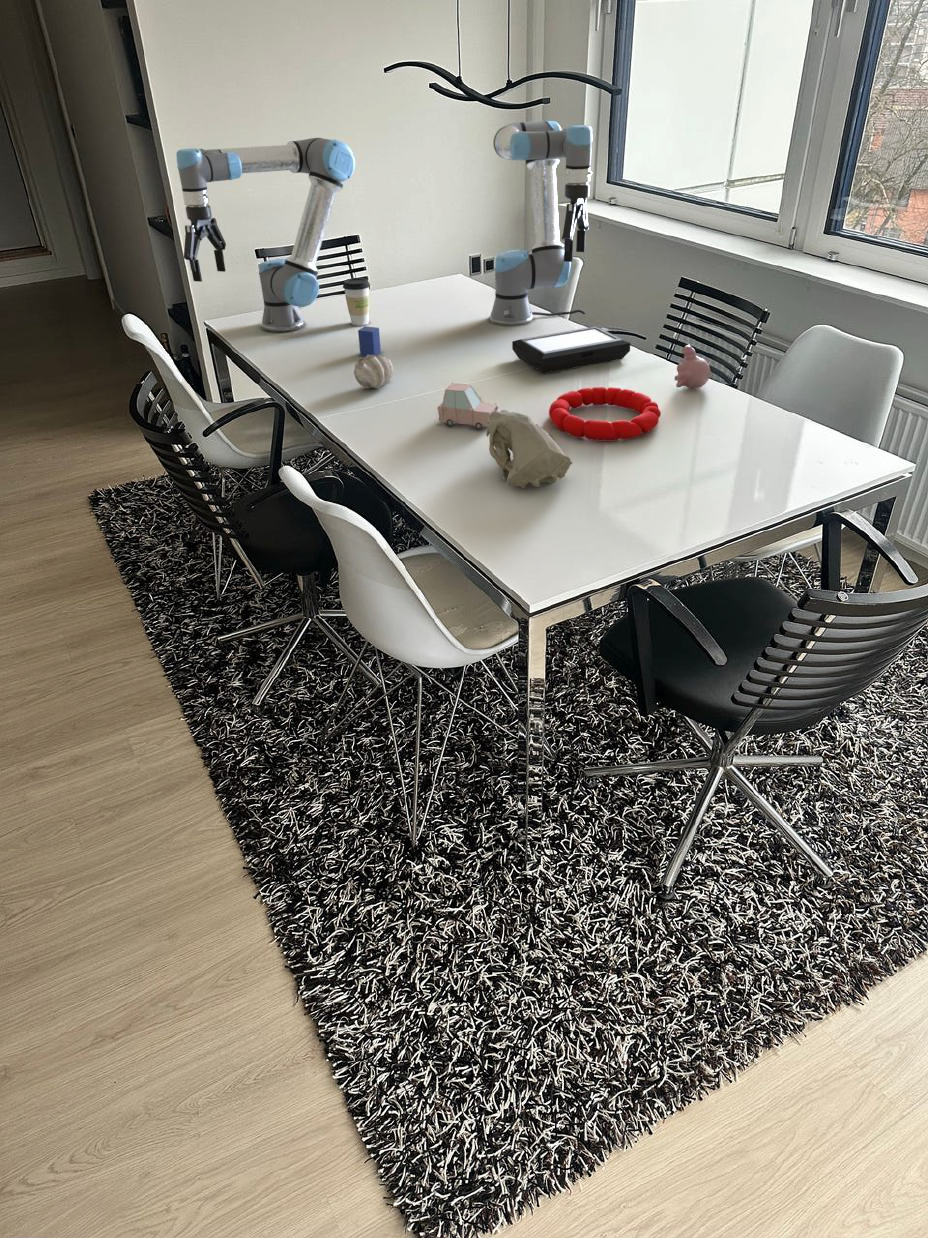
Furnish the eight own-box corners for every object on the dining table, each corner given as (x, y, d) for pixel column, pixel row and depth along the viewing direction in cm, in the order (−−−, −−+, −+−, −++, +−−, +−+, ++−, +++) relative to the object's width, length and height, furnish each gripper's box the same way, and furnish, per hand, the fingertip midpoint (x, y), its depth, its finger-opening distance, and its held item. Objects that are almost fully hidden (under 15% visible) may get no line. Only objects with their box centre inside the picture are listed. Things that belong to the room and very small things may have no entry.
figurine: (665, 387, 264) (669, 347, 257) (693, 380, 268) (698, 340, 261) (686, 396, 257) (690, 355, 250) (714, 388, 262) (720, 348, 255)
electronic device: (541, 356, 271) (512, 338, 286) (541, 376, 275) (512, 357, 290) (630, 340, 281) (597, 324, 296) (629, 359, 285) (596, 342, 300)
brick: (374, 357, 295) (372, 331, 290) (360, 355, 297) (357, 330, 292) (381, 352, 299) (378, 327, 294) (366, 351, 300) (364, 326, 296)
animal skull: (496, 517, 219) (521, 479, 201) (463, 429, 225) (484, 384, 207) (557, 503, 225) (586, 465, 206) (523, 417, 231) (549, 373, 212)
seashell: (346, 386, 272) (343, 354, 266) (390, 377, 278) (388, 345, 272) (359, 397, 264) (356, 364, 259) (405, 387, 270) (402, 354, 264)
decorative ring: (589, 435, 224) (684, 402, 234) (527, 398, 247) (617, 369, 256) (589, 461, 229) (683, 427, 238) (529, 422, 251) (617, 393, 260)
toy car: (488, 432, 240) (488, 396, 234) (436, 426, 244) (434, 390, 239) (499, 419, 247) (499, 384, 241) (448, 413, 252) (447, 379, 246)
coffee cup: (372, 326, 323) (368, 283, 314) (345, 327, 323) (340, 284, 315) (374, 318, 331) (371, 276, 322) (348, 319, 331) (344, 277, 323)
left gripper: (184, 212, 267) (197, 286, 278) (229, 198, 286) (240, 267, 298) (163, 211, 269) (177, 284, 281) (209, 197, 288) (221, 266, 300)
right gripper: (577, 190, 261) (574, 266, 273) (600, 176, 280) (596, 248, 292) (553, 189, 264) (551, 264, 276) (577, 176, 282) (574, 247, 295)
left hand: (209, 276), depth 289 cm, fingers open, 13 cm apart
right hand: (574, 256), depth 284 cm, fingers open, 13 cm apart
